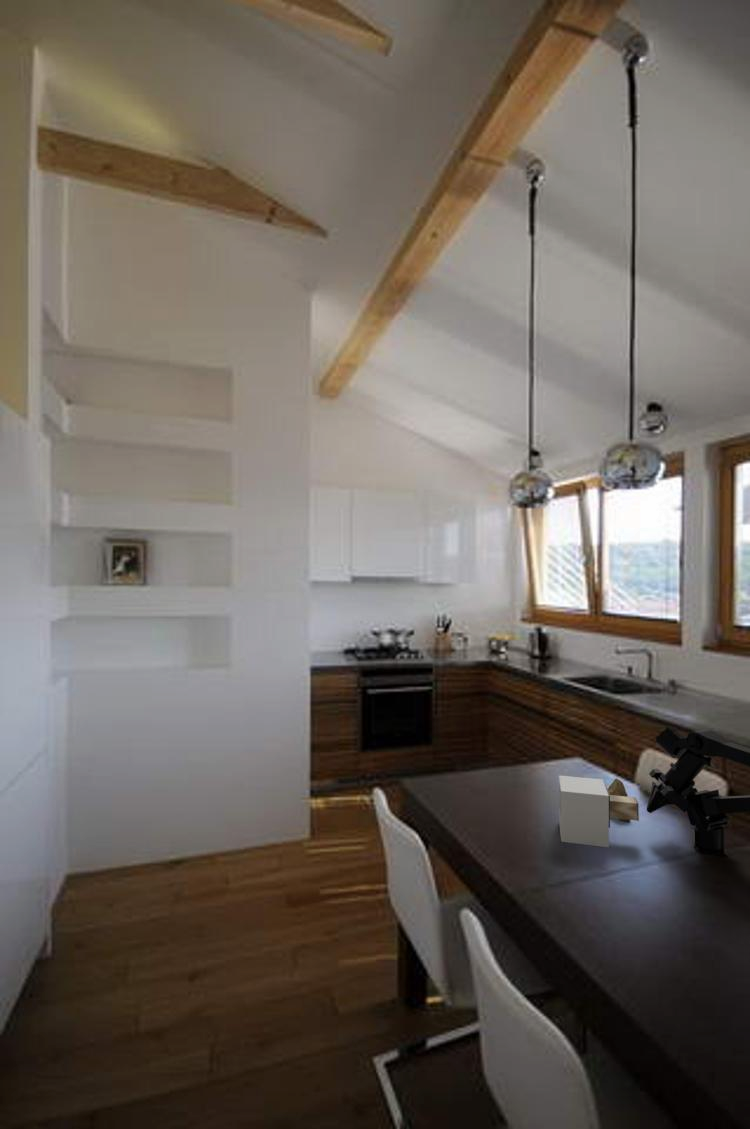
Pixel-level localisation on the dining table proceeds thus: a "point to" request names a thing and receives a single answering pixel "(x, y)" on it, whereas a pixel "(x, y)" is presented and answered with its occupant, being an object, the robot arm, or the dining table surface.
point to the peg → (624, 807)
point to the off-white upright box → (584, 811)
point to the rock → (617, 790)
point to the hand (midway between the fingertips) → (648, 811)
